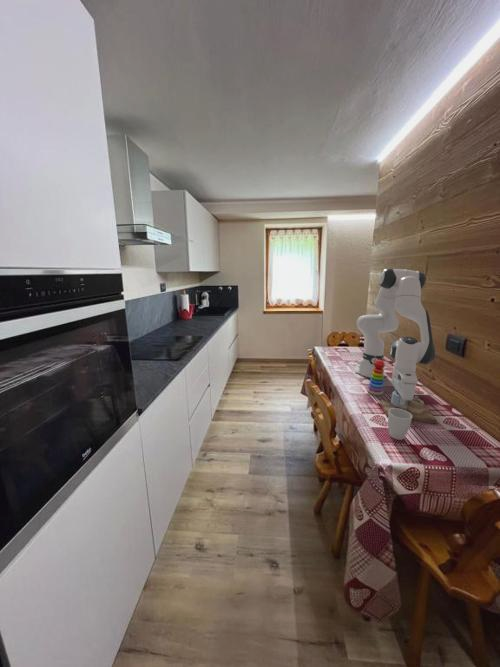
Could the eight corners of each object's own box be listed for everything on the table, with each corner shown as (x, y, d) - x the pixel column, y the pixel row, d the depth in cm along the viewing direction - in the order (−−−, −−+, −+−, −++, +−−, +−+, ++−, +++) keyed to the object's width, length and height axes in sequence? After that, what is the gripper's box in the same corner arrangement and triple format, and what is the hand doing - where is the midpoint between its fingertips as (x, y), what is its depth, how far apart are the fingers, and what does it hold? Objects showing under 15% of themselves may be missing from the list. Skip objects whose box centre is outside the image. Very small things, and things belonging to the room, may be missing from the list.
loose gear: (389, 400, 128) (391, 390, 127) (403, 401, 127) (405, 392, 126) (393, 405, 122) (394, 395, 121) (407, 407, 121) (409, 397, 120)
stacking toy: (384, 396, 140) (390, 363, 136) (368, 394, 142) (373, 361, 138) (380, 390, 148) (385, 358, 144) (365, 388, 149) (369, 357, 145)
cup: (413, 440, 103) (417, 417, 101) (396, 443, 101) (400, 420, 99) (396, 428, 111) (400, 407, 109) (380, 431, 109) (384, 409, 106)
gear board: (379, 402, 133) (382, 387, 132) (424, 408, 129) (427, 392, 127) (386, 416, 120) (389, 399, 118) (436, 423, 116) (440, 405, 114)
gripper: (390, 364, 132) (386, 390, 135) (403, 380, 112) (398, 409, 115) (404, 365, 130) (399, 392, 133) (419, 381, 111) (414, 411, 114)
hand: (399, 400), depth 124 cm, fingers closed on loose gear, 6 cm apart
